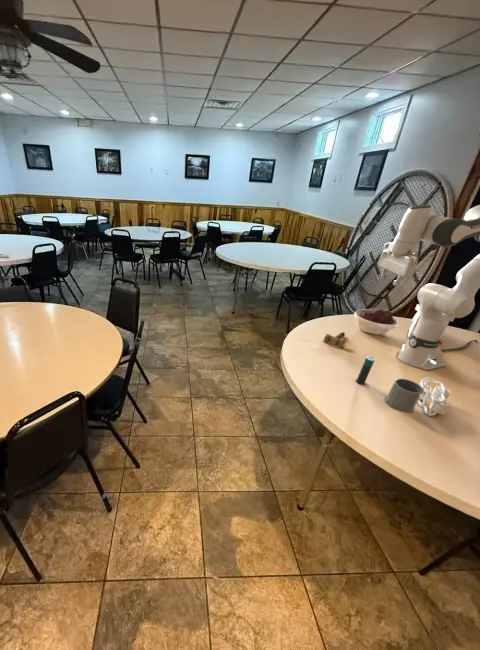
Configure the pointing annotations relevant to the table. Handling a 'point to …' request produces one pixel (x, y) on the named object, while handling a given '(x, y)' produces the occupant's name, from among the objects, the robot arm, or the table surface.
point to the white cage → (435, 397)
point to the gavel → (335, 339)
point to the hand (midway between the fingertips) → (389, 282)
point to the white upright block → (417, 316)
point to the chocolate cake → (375, 320)
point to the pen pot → (404, 395)
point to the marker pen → (365, 370)
